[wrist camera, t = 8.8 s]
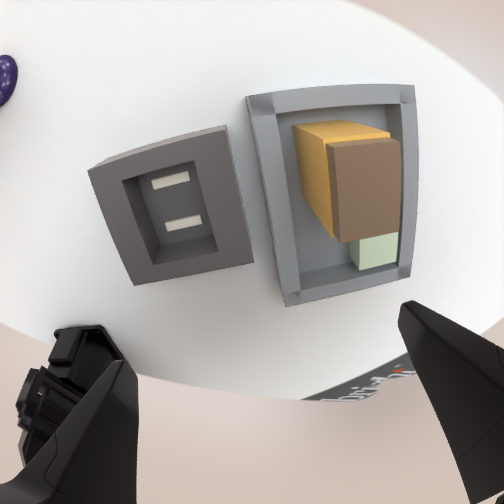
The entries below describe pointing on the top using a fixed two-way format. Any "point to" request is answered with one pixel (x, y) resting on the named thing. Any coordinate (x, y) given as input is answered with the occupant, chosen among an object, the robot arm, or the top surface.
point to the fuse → (374, 251)
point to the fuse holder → (174, 207)
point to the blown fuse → (350, 177)
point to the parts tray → (296, 207)
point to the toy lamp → (7, 77)
